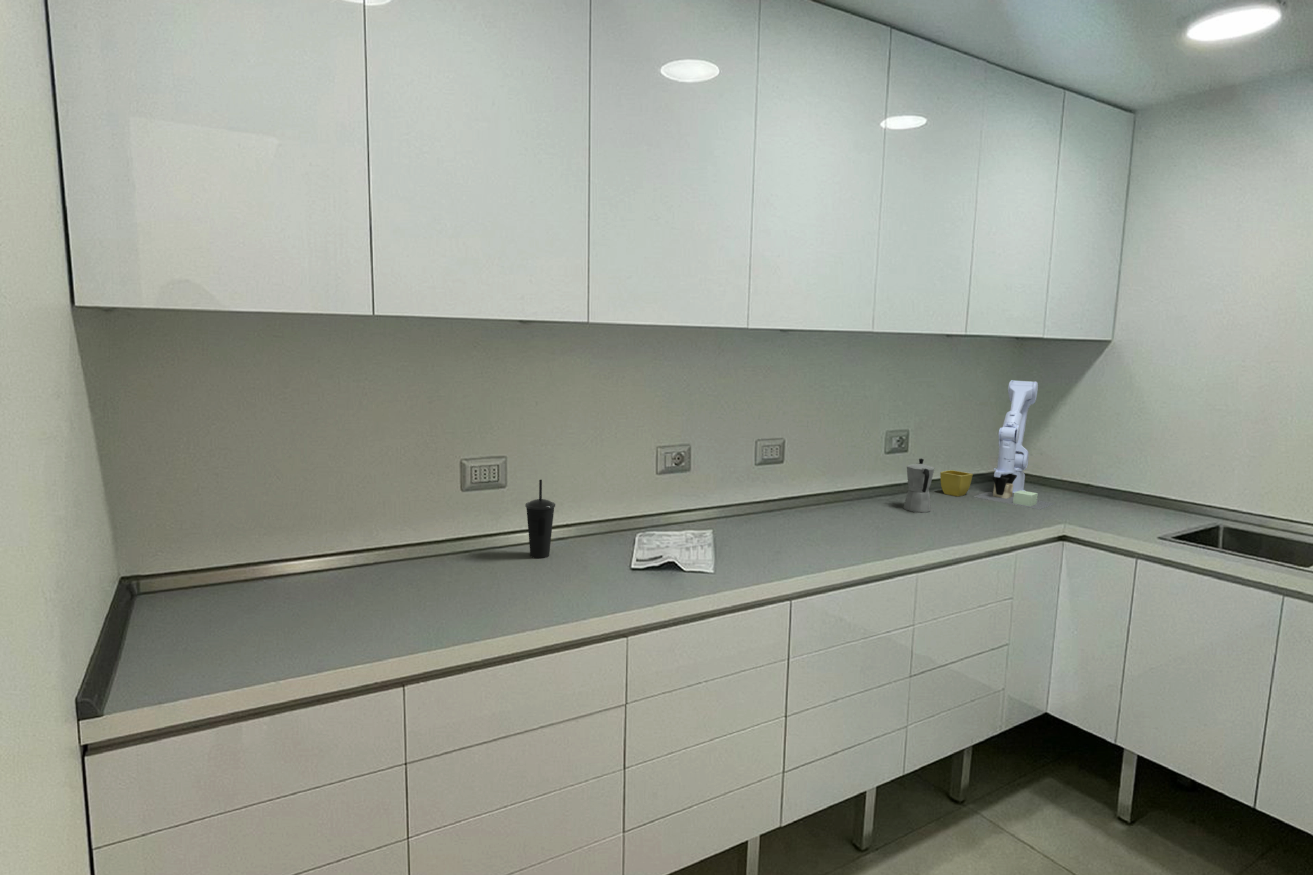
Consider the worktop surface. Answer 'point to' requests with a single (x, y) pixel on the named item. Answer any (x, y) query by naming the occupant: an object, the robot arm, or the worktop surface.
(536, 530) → the drinking cup
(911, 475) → the coffeepot
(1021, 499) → the sage brick
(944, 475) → the flower pot
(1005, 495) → the birch block
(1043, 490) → the worktop surface
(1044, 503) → the play mat
